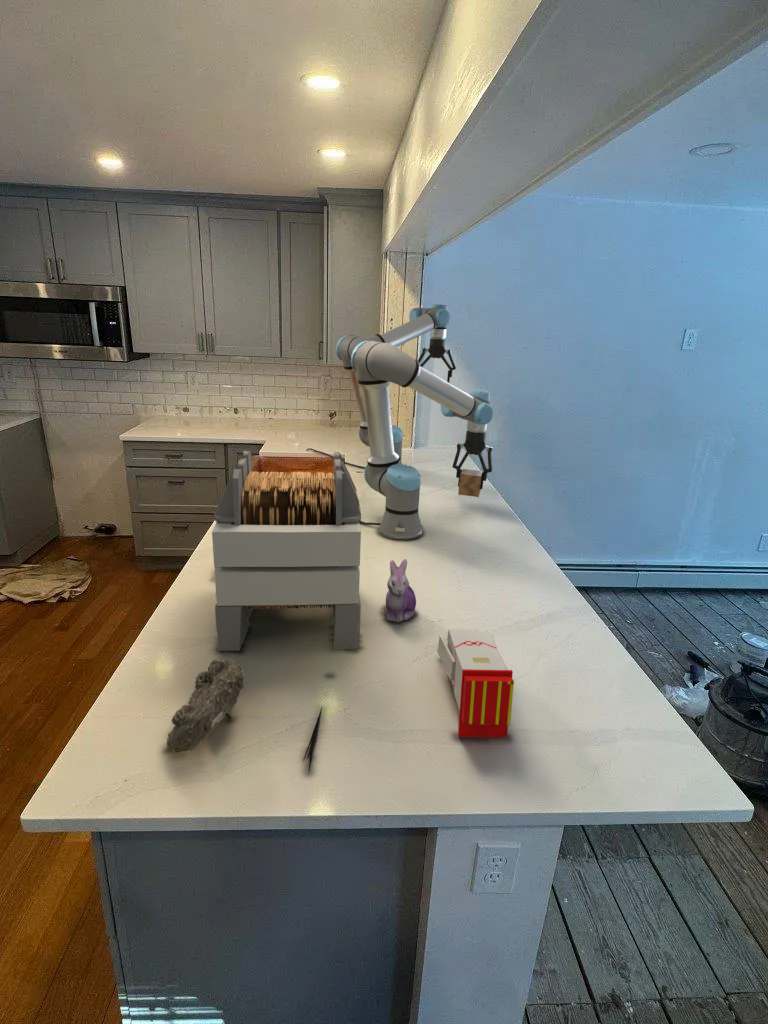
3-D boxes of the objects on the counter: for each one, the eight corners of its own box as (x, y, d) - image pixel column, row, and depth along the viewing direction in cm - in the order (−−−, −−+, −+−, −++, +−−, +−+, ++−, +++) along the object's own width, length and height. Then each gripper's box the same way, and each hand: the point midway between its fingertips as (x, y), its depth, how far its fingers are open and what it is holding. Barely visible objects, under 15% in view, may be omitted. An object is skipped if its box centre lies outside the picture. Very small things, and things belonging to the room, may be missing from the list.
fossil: (192, 660, 117) (244, 628, 112) (224, 691, 120) (276, 661, 115) (142, 746, 98) (202, 712, 93) (182, 779, 101) (242, 748, 96)
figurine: (392, 627, 141) (395, 572, 136) (374, 608, 149) (376, 556, 144) (425, 619, 145) (429, 566, 140) (405, 601, 154) (408, 550, 149)
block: (458, 494, 224) (460, 474, 221) (460, 488, 232) (462, 468, 229) (478, 497, 222) (481, 476, 219) (480, 491, 230) (483, 471, 227)
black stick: (331, 679, 122) (336, 673, 122) (307, 777, 96) (313, 769, 95) (324, 675, 122) (329, 669, 121) (298, 772, 95) (304, 764, 95)
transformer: (235, 584, 159) (228, 441, 145) (352, 582, 163) (356, 443, 149) (215, 653, 127) (203, 479, 113) (360, 649, 131) (366, 481, 117)
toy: (488, 613, 130) (523, 677, 101) (484, 667, 133) (517, 744, 104) (435, 612, 130) (455, 676, 101) (432, 666, 133) (451, 743, 103)
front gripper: (448, 429, 217) (442, 486, 225) (503, 435, 213) (496, 492, 221) (450, 426, 224) (445, 481, 232) (504, 431, 220) (497, 487, 227)
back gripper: (411, 337, 274) (408, 381, 281) (462, 340, 268) (458, 385, 275) (414, 336, 281) (411, 380, 288) (464, 339, 275) (460, 384, 282)
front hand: (470, 487), depth 226 cm, fingers closed on block, 8 cm apart
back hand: (434, 383), depth 281 cm, fingers open, 13 cm apart
